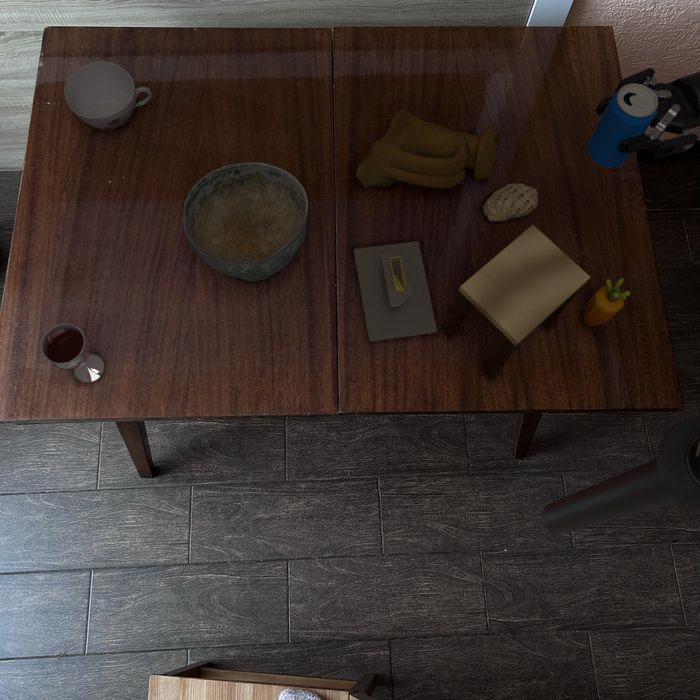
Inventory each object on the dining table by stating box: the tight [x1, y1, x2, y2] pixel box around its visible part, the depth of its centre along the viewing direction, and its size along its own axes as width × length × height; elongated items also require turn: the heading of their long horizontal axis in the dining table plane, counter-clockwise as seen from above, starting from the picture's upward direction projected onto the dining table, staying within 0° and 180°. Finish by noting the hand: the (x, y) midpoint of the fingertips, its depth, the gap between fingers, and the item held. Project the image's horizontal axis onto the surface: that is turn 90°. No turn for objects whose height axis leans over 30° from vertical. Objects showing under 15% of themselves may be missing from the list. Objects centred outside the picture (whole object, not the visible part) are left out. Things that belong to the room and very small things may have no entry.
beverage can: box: [586, 84, 658, 168], centre depth 102 cm, size 6×6×12 cm
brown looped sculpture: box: [355, 108, 500, 190], centre depth 126 cm, size 18×13×22 cm
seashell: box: [482, 182, 539, 223], centre depth 127 cm, size 8×6×10 cm
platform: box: [353, 240, 438, 342], centre depth 120 cm, size 12×18×7 cm, turn 9°
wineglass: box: [40, 322, 105, 383], centre depth 111 cm, size 7×7×12 cm
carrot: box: [583, 277, 631, 327], centre depth 115 cm, size 5×5×15 cm
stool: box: [441, 224, 591, 380], centre depth 113 cm, size 12×16×18 cm
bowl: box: [182, 161, 309, 282], centre depth 118 cm, size 20×19×15 cm
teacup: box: [63, 60, 153, 130], centre depth 130 cm, size 15×12×8 cm
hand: (609, 128), depth 101 cm, fingers closed on beverage can, 6 cm apart
